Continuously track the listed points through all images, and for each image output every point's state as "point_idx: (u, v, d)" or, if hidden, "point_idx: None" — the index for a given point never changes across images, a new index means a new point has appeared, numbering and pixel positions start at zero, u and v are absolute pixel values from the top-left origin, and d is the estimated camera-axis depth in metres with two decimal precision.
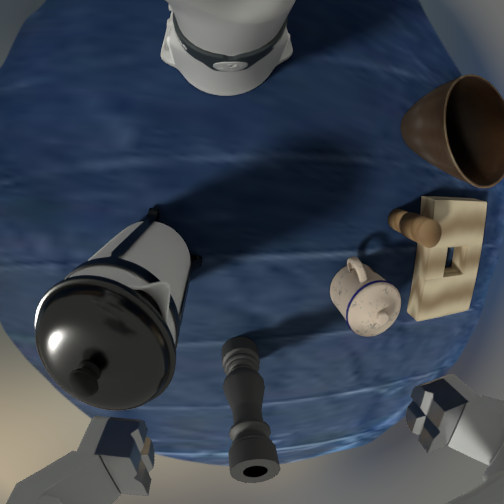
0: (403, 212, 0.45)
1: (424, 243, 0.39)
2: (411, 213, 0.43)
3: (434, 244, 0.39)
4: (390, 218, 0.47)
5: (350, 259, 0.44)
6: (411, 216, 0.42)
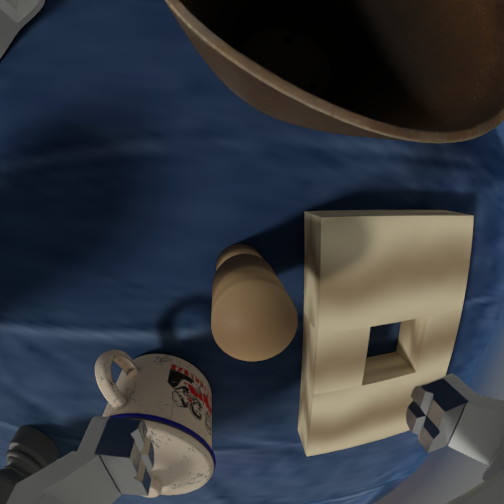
0: (232, 254, 0.21)
1: (231, 350, 0.14)
2: (237, 257, 0.19)
3: (273, 351, 0.15)
4: (216, 267, 0.23)
5: None
6: (227, 267, 0.18)
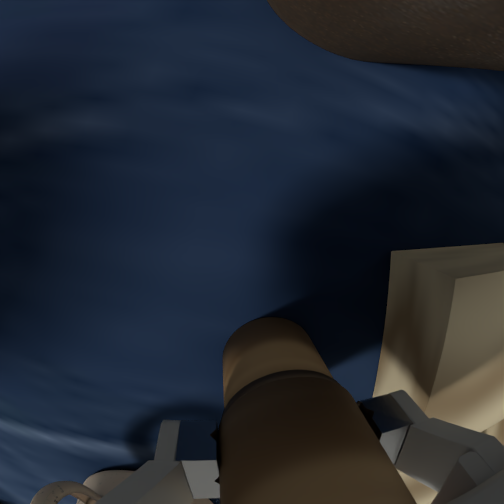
0: (260, 360, 0.09)
1: None
2: (279, 395, 0.07)
3: None
4: None
5: (34, 497, 0.07)
6: (256, 434, 0.06)
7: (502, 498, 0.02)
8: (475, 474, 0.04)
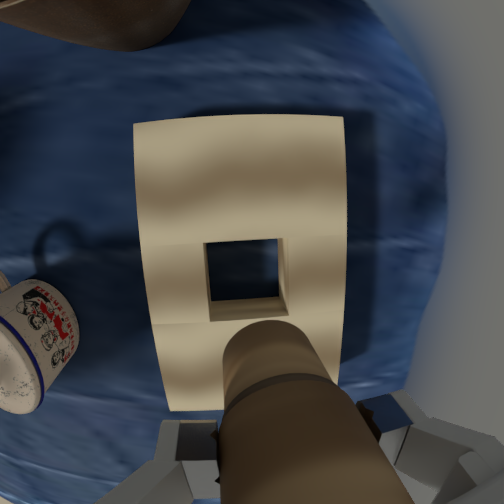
0: (260, 364, 0.09)
1: None
2: (279, 399, 0.07)
3: None
4: None
5: None
6: (256, 438, 0.06)
7: (502, 498, 0.02)
8: (475, 474, 0.04)
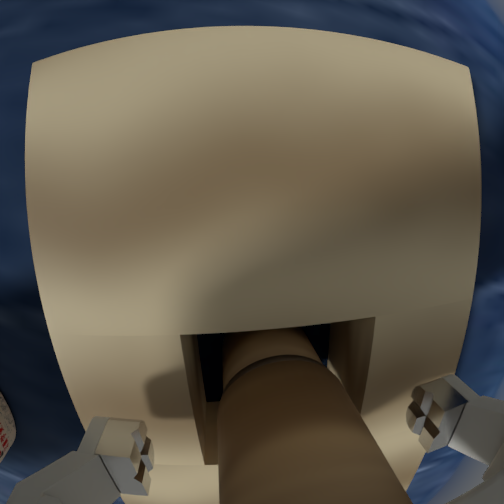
0: (256, 347, 0.10)
1: None
2: (272, 376, 0.08)
3: None
4: (222, 356, 0.12)
5: None
6: (251, 409, 0.07)
7: (502, 498, 0.02)
8: None
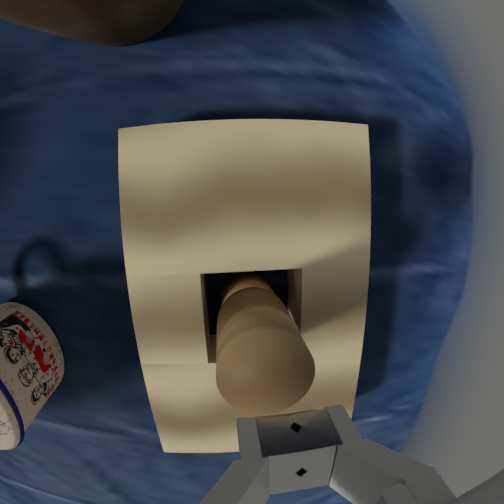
0: (239, 286, 0.18)
1: (238, 403, 0.12)
2: (245, 293, 0.16)
3: (286, 404, 0.12)
4: None
5: None
6: (233, 304, 0.15)
7: (502, 498, 0.02)
8: None
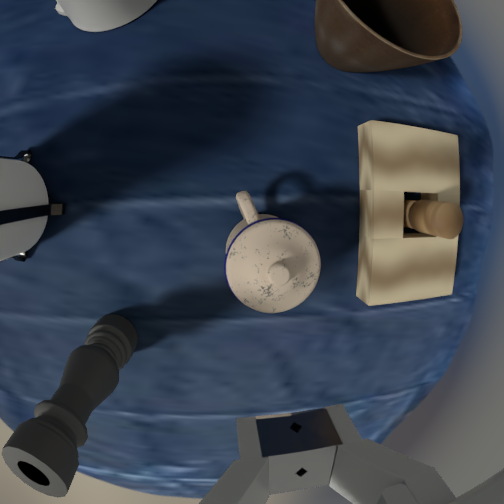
0: (412, 201, 0.35)
1: (443, 232, 0.29)
2: (422, 200, 0.33)
3: (455, 235, 0.29)
4: None
5: (236, 194, 0.31)
6: (423, 202, 0.32)
7: (502, 498, 0.02)
8: None
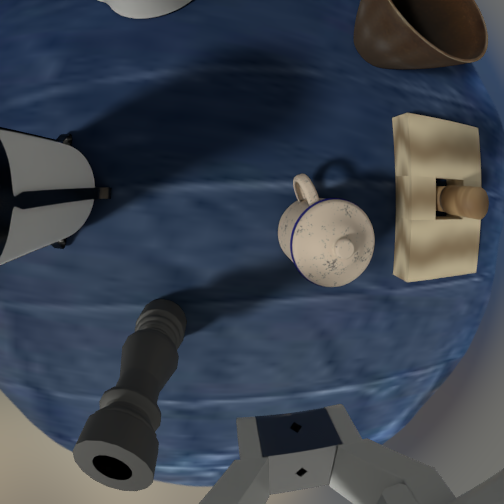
0: (442, 186, 0.36)
1: (473, 213, 0.30)
2: (452, 185, 0.34)
3: (482, 216, 0.30)
4: None
5: (294, 177, 0.32)
6: (453, 187, 0.34)
7: (502, 498, 0.02)
8: None
